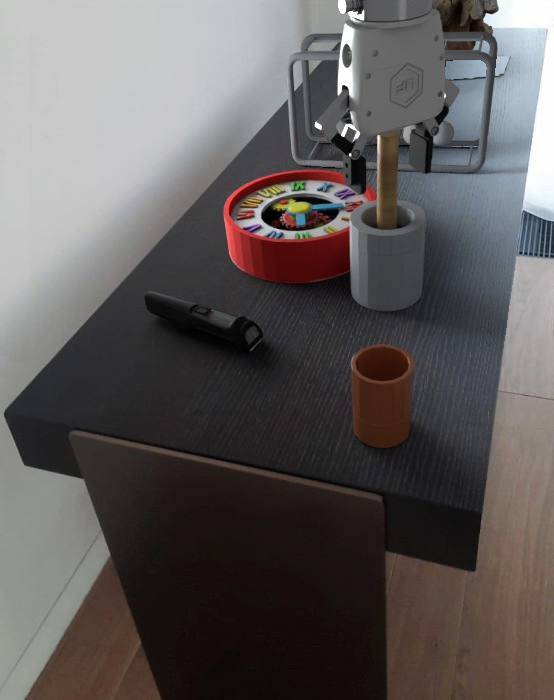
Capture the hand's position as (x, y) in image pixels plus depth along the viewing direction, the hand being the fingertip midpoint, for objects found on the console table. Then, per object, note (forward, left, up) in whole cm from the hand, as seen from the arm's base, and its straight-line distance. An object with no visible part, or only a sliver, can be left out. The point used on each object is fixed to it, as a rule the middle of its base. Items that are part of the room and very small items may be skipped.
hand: (388, 178), depth 75 cm
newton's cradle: (+32, -21, -15) cm, 41 cm away
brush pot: (-19, +13, -15) cm, 27 cm away
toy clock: (+16, +3, -15) cm, 22 cm away
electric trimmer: (+5, +22, -15) cm, 27 cm away
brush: (0, 0, -14) cm, 14 cm away
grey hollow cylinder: (0, 0, -15) cm, 15 cm away
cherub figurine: (+60, -58, -15) cm, 85 cm away
